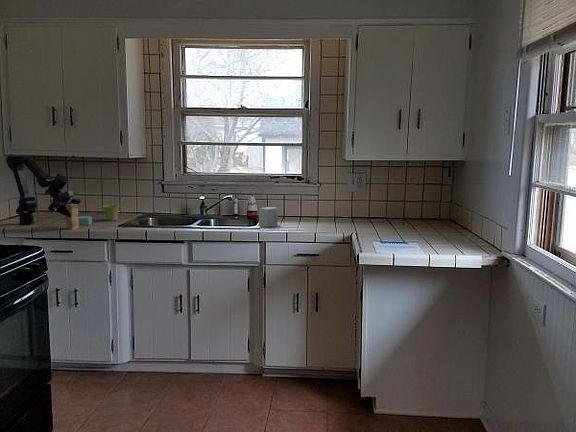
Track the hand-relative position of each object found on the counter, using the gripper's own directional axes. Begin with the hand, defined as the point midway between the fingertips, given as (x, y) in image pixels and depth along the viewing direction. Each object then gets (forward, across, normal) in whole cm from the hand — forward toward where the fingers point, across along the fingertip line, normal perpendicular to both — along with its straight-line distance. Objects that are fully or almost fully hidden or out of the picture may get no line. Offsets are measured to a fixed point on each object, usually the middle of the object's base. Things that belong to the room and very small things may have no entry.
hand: (73, 216), depth 285 cm
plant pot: (+4, +32, +6) cm, 33 cm away
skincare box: (+69, +53, -60) cm, 106 cm away
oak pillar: (+4, 0, +6) cm, 7 cm away
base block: (0, +15, +10) cm, 18 cm away
